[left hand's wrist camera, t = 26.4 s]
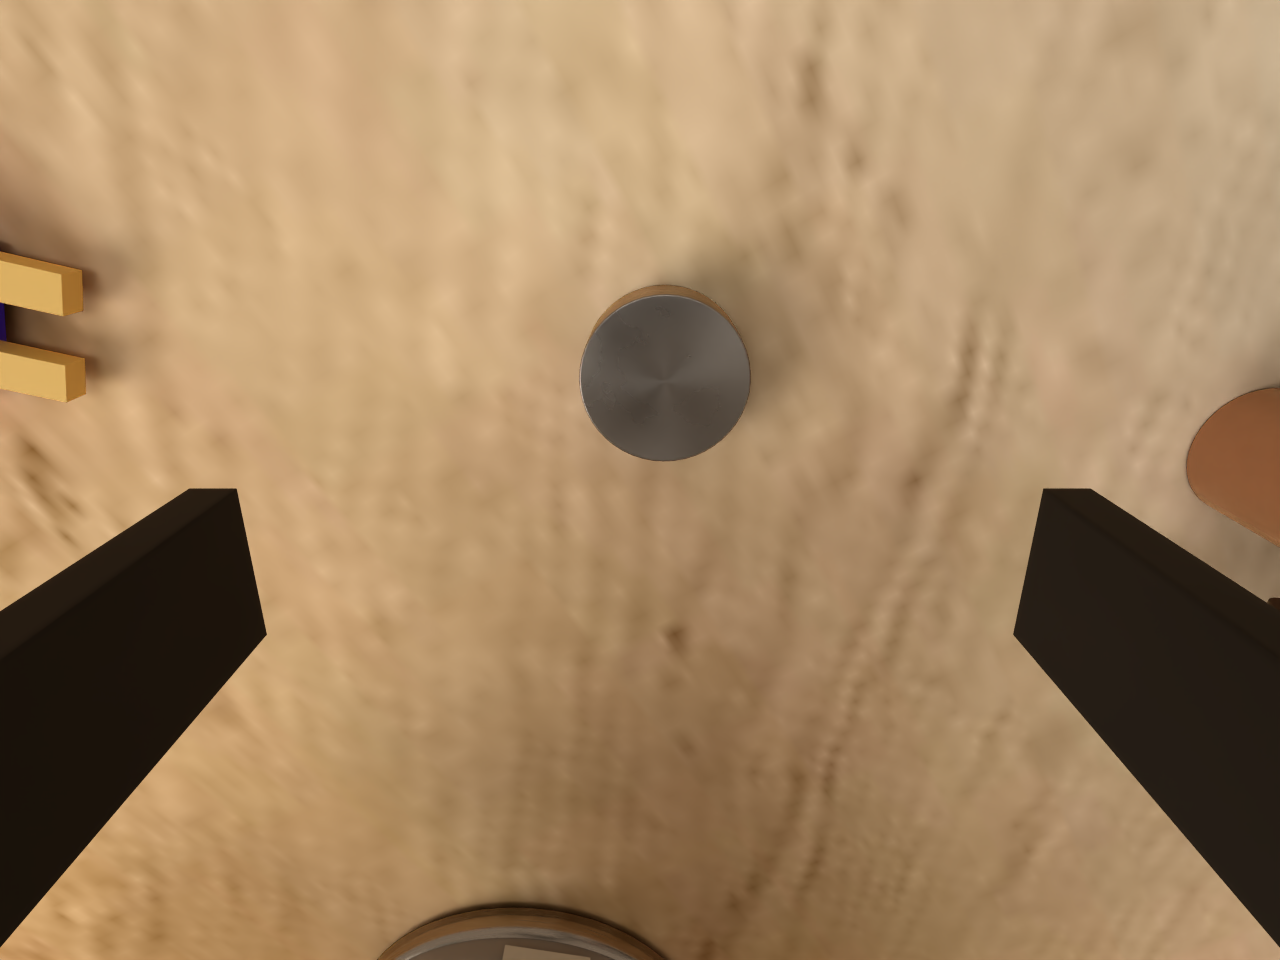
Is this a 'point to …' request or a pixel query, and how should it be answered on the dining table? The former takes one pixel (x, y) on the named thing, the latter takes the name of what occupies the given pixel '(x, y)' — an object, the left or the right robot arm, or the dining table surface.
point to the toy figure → (48, 293)
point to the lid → (664, 373)
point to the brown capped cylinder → (1241, 462)
